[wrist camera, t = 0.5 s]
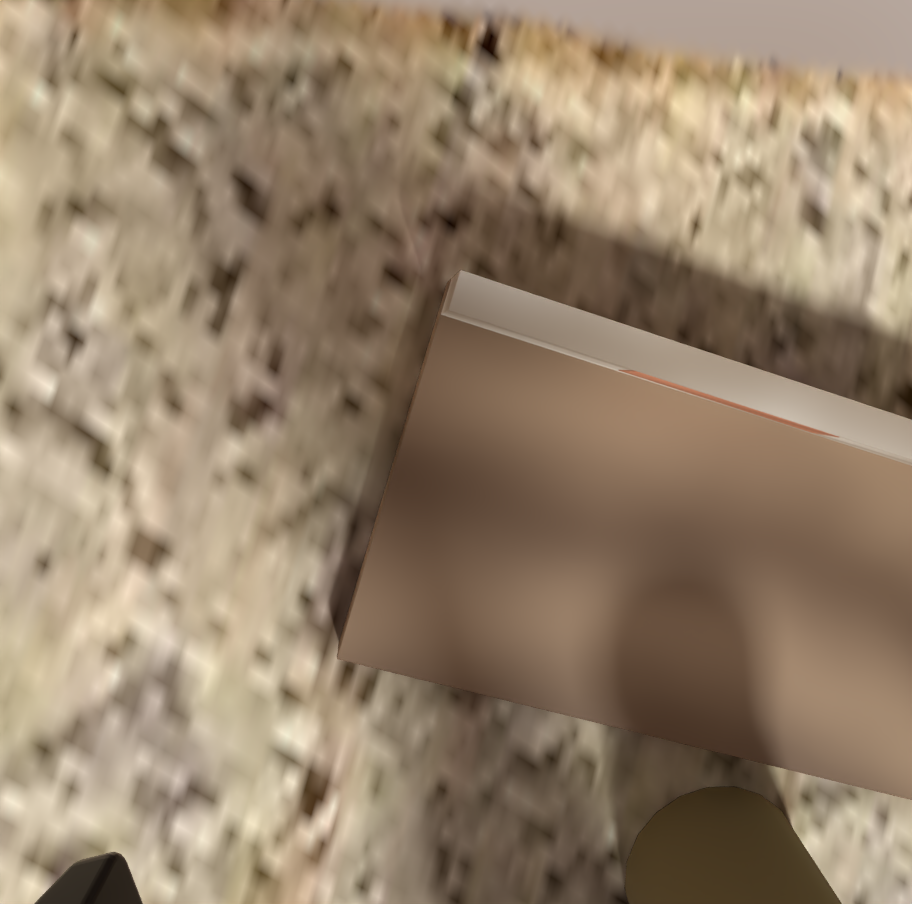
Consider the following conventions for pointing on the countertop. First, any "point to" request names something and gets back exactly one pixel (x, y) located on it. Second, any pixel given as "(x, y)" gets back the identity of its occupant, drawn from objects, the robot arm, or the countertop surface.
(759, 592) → the shelf board
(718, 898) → the cork
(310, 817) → the countertop surface
